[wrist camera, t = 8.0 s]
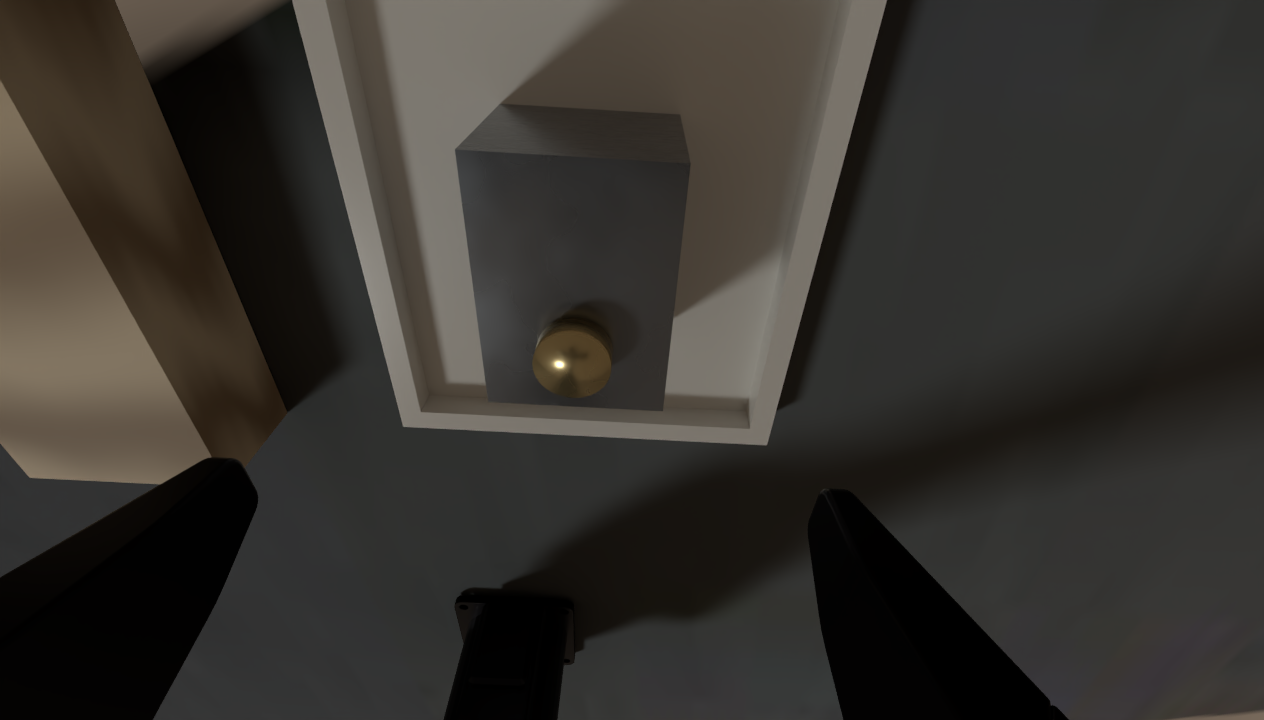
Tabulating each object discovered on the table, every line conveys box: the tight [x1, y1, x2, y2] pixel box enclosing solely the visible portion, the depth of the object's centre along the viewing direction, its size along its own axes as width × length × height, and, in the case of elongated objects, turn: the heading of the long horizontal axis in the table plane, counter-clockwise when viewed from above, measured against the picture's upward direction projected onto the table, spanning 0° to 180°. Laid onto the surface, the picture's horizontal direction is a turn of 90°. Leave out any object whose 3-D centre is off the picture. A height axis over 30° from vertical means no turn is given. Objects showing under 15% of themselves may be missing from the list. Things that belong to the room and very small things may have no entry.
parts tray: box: [292, 0, 887, 445], centre depth 17 cm, size 16×14×2 cm
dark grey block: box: [455, 104, 691, 411], centre depth 15 cm, size 7×5×5 cm
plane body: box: [0, 0, 287, 484], centre depth 16 cm, size 18×7×4 cm, turn 177°
